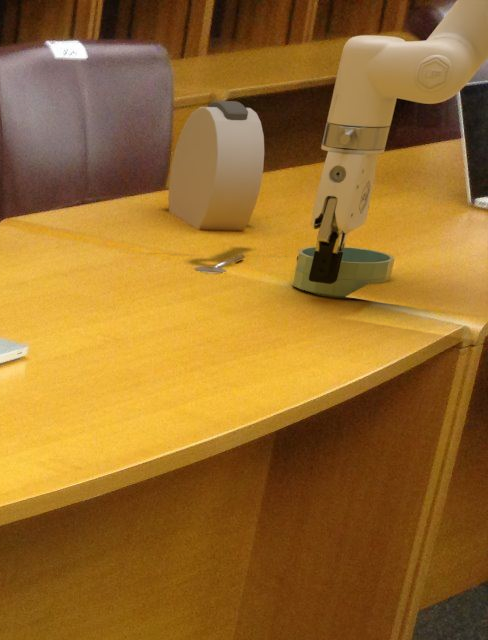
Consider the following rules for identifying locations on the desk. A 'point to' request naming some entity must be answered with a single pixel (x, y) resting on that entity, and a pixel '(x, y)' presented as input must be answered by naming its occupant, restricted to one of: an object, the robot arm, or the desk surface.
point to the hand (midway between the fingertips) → (322, 281)
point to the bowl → (344, 271)
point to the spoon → (219, 265)
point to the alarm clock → (217, 167)
